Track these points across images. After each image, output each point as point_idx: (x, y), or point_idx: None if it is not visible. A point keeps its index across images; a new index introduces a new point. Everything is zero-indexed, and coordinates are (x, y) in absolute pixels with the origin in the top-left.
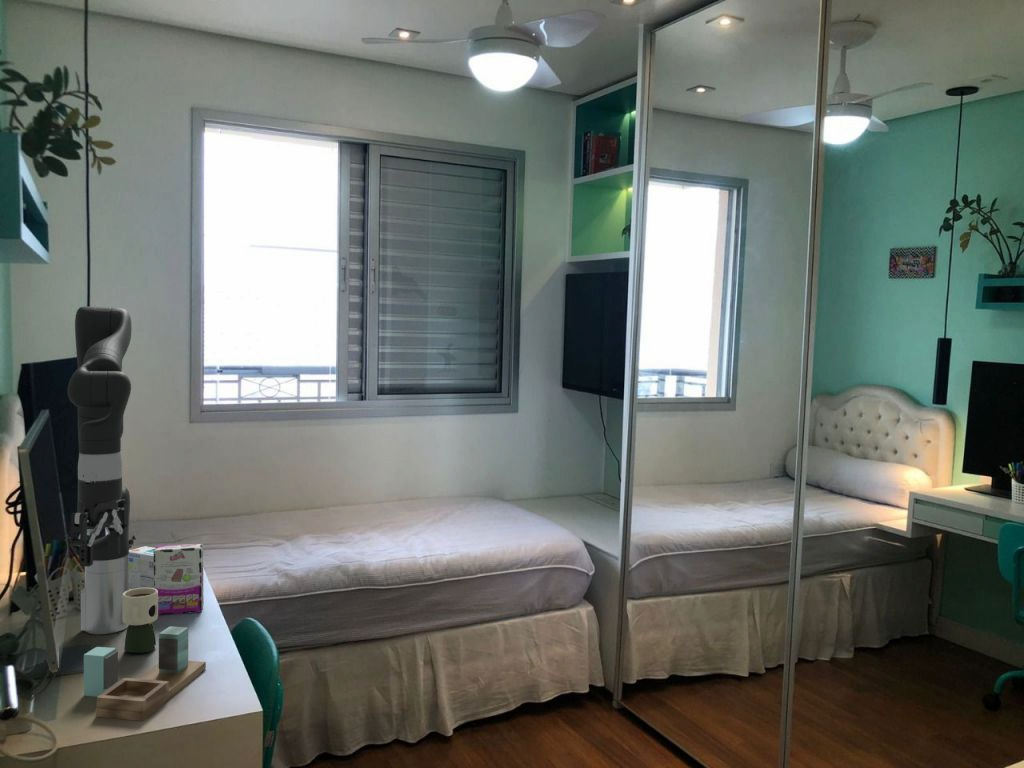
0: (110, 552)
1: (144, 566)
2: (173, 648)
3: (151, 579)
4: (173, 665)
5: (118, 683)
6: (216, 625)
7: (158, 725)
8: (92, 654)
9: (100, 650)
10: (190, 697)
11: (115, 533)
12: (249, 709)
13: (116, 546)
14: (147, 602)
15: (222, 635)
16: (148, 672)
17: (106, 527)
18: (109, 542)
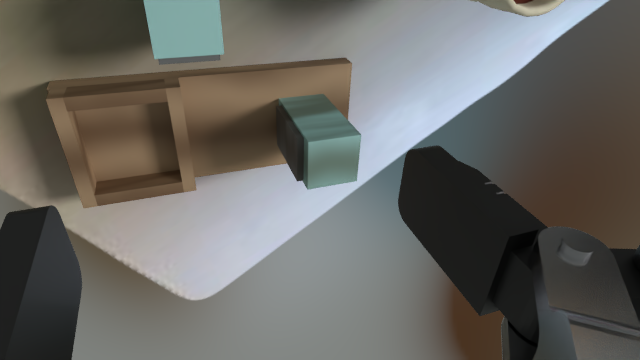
0: (410, 166)
1: None
2: (291, 165)
3: None
4: (279, 144)
5: (144, 95)
6: (558, 33)
7: (83, 220)
8: (153, 13)
9: (192, 17)
10: (214, 197)
11: (507, 306)
12: (201, 297)
13: (426, 239)
14: (492, 2)
15: (502, 78)
16: (272, 75)
17: (545, 330)
18: (458, 205)
